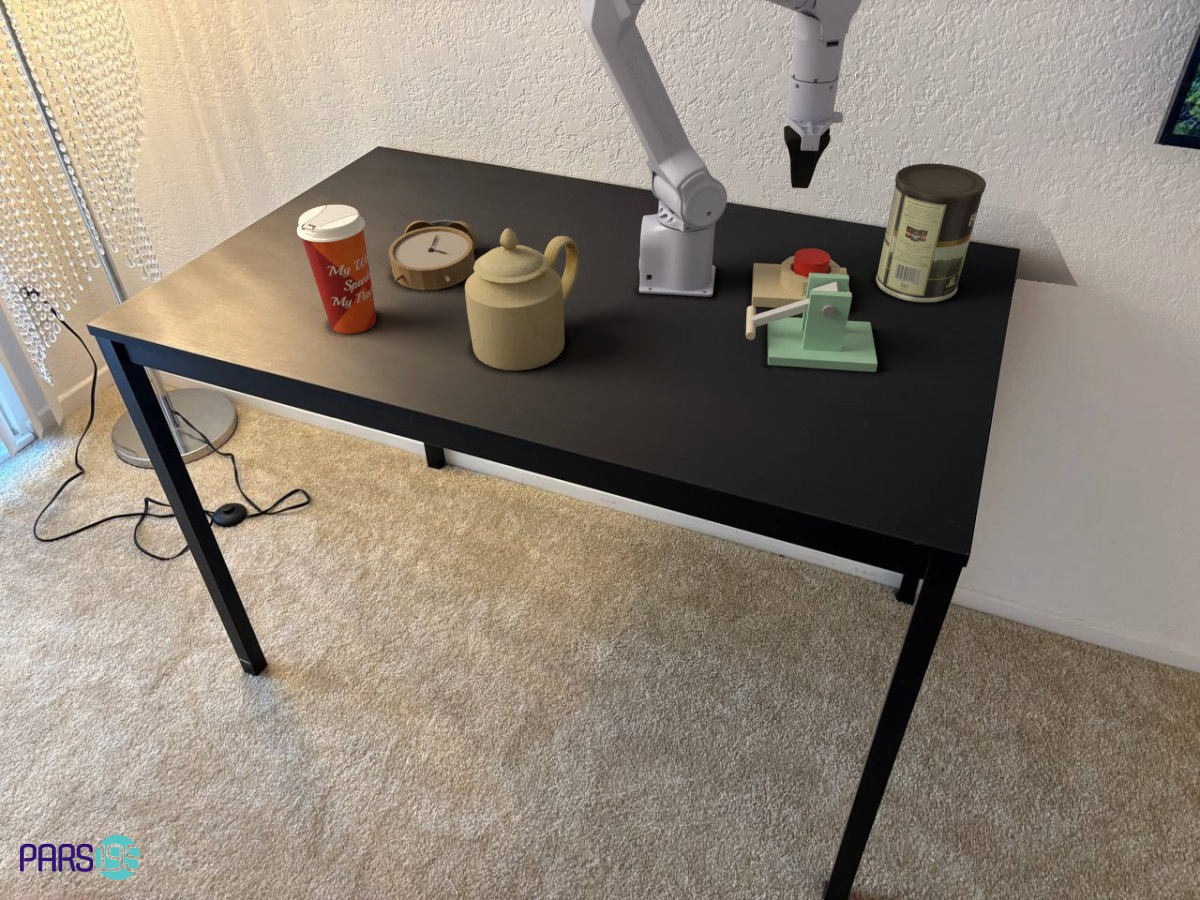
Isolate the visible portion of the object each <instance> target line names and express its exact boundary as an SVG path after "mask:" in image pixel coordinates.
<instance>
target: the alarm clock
mask: <svg viewBox="0 0 1200 900" xmlns="http://www.w3.org/2000/svg"><path fill="white" fill-rule="evenodd" d="M477 244H478V236H477V233H476V231H475V229H474V228H473V226H471V224H469V223H467V222H465V221H463V220H462V221H461V220H451V219H439V220H434V221H431V222H429V221H428V220H424V219H419V220H415V221H412V222H411V223H410V224H408V225H407V227H406V228H405V231H404V233H403V234H402V235H400V236H399V237H397V238H396V239H394V241H393V242H392V243H391V244H390V245H389V248H388V252H387V253H388V257H389V261H390V265H391V270H392V275H393V278H394V279H393V280H394V281H395V282H397V283H399V284H400V285H402V286H403V287H406V288H409V289H412V290H420V291H436V290H443V289H446V288H451V287H453V286H455V285H458V284H460V283H462V282H464V281H465V280H467V279H468V278H469V277H470V276H471V275H472V274H473V273H474V268H473V267H474V265H475V262H476V258H475V254H474V251H475V249H476V248H477Z"/></svg>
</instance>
